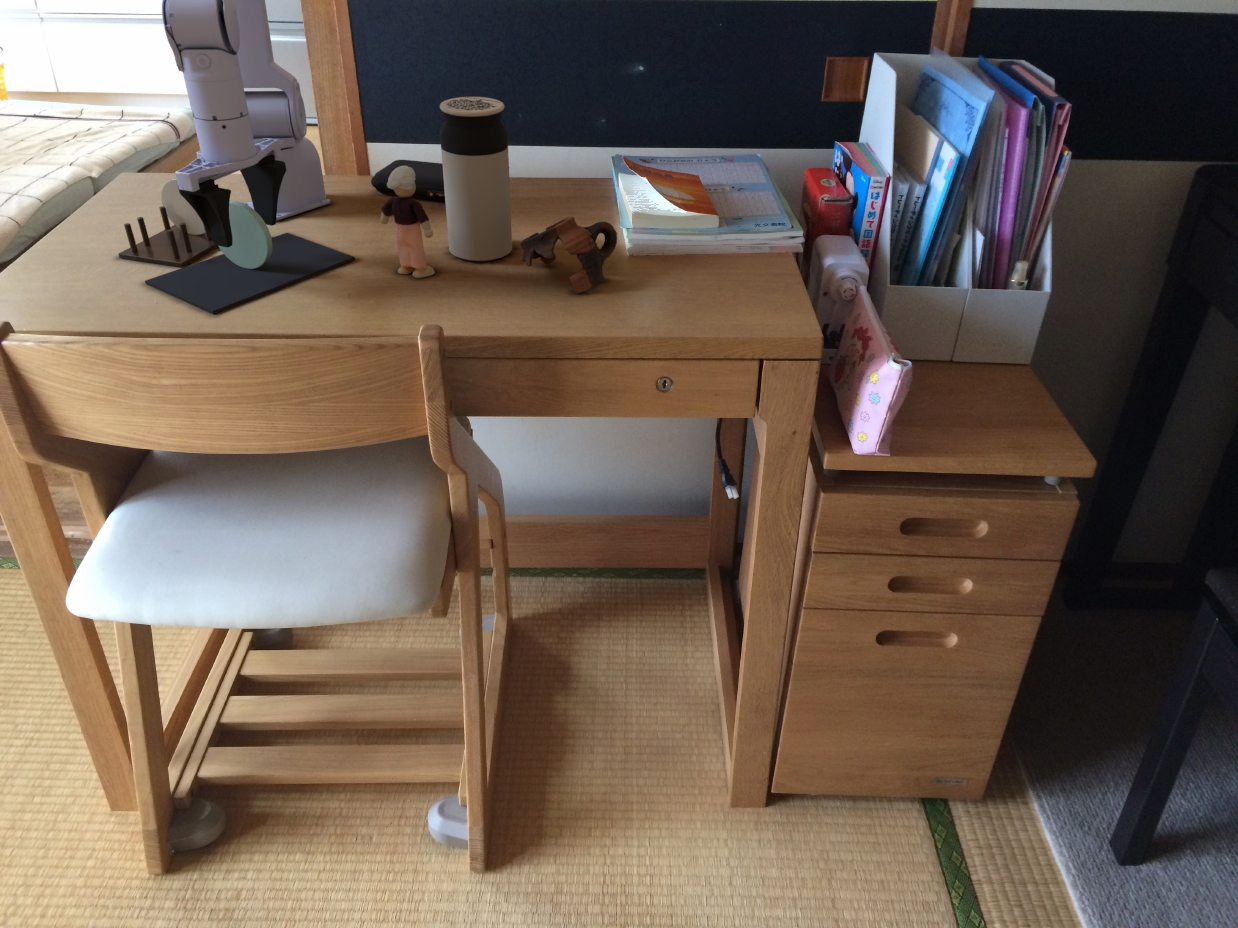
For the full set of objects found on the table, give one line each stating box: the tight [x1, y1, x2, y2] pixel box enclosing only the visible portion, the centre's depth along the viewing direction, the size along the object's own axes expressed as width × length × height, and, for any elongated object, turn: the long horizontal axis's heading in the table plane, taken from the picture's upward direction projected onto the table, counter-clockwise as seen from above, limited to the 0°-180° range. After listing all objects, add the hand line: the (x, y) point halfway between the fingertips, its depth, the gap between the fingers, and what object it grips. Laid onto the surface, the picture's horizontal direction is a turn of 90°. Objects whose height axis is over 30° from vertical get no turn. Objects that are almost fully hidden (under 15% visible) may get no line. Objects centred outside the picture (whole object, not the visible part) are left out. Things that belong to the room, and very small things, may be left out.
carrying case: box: [370, 159, 445, 201], centre depth 136 cm, size 11×3×15 cm
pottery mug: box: [519, 216, 618, 295], centre depth 112 cm, size 12×10×8 cm
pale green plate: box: [218, 200, 273, 269], centre depth 109 cm, size 1×8×8 cm, turn 68°
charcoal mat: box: [144, 232, 356, 315], centre depth 111 cm, size 20×13×1 cm, turn 144°
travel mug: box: [439, 96, 513, 262], centre depth 113 cm, size 8×8×18 cm
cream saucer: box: [160, 177, 205, 235], centre depth 117 cm, size 1×7×7 cm, turn 74°
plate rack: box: [118, 205, 219, 268], centre depth 116 cm, size 11×9×4 cm
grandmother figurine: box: [379, 166, 435, 279], centre depth 109 cm, size 8×4×13 cm, turn 71°
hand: (246, 234), depth 109 cm, fingers open, 7 cm apart
